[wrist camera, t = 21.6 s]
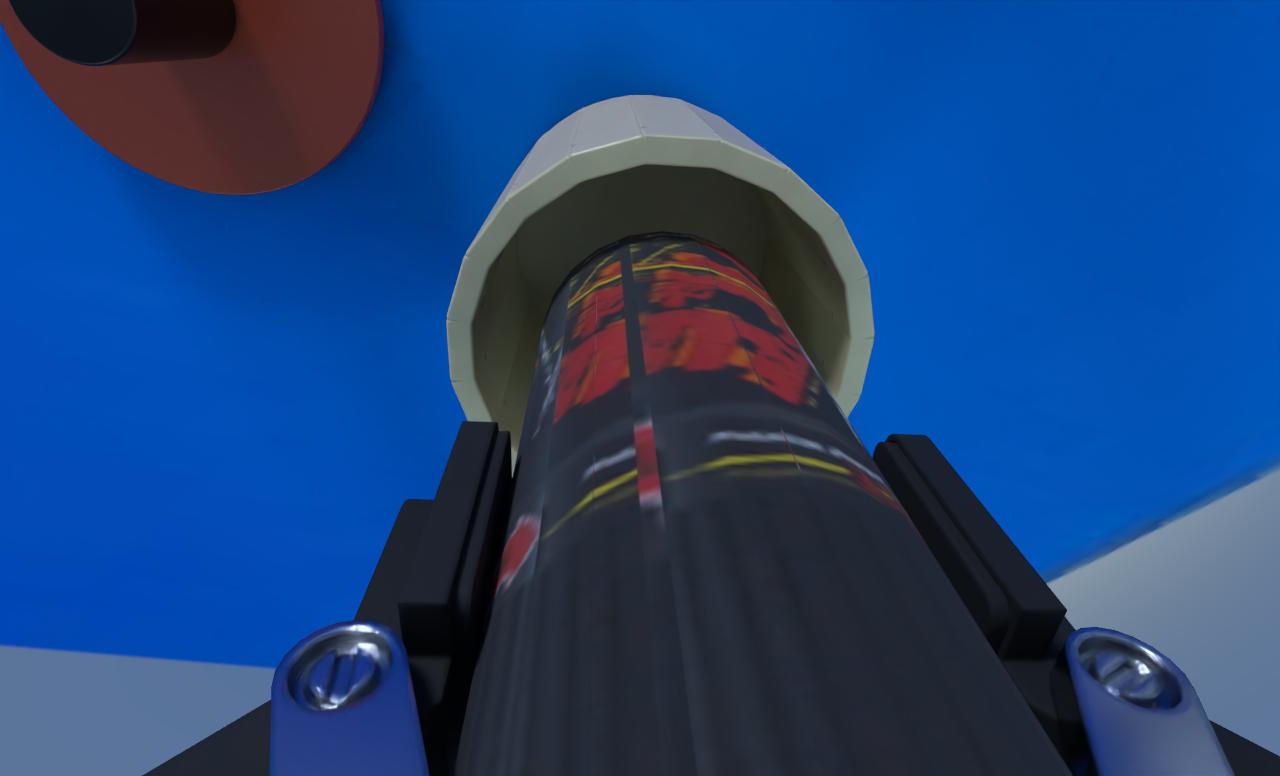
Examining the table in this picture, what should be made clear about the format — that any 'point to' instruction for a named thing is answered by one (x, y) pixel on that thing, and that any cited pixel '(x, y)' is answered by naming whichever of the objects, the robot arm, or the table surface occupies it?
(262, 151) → the lid
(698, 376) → the deodorant
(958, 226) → the table surface
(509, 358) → the canister
